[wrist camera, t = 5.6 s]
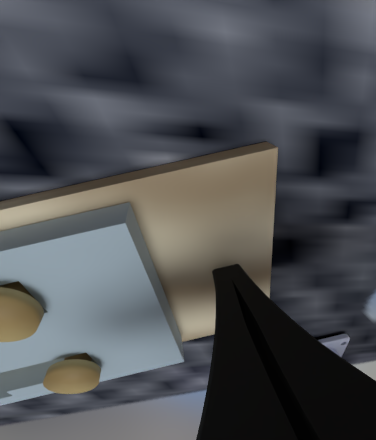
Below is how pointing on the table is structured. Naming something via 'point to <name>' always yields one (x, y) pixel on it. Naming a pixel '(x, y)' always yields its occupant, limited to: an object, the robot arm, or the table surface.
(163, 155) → the table surface
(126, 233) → the panel
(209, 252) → the board
